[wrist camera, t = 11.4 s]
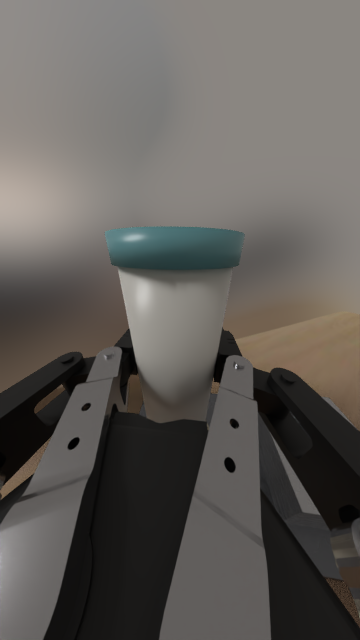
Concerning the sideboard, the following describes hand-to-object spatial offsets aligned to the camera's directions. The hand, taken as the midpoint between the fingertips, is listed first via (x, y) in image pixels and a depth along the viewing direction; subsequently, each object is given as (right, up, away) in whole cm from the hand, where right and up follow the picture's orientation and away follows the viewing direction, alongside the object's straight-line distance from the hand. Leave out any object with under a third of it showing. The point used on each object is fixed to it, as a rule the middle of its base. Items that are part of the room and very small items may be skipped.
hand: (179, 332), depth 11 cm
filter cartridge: (0, -10, +2) cm, 10 cm away
